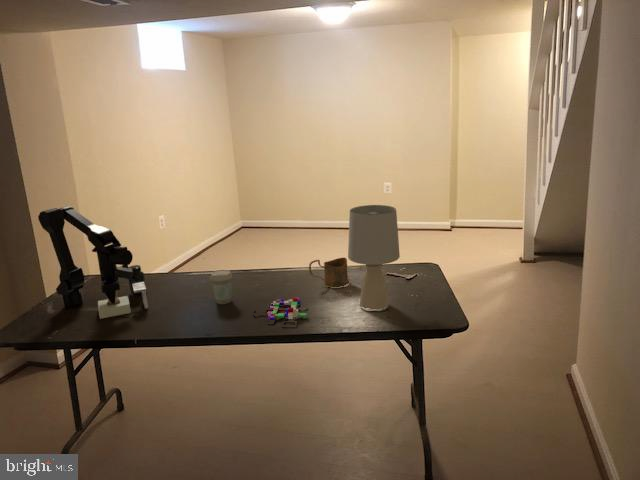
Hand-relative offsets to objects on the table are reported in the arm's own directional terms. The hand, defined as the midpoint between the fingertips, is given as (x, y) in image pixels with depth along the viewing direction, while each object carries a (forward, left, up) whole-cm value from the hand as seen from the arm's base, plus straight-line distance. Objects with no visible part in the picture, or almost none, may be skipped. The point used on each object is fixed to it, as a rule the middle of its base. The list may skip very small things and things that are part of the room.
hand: (113, 301), depth 197 cm
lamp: (+89, -46, -4) cm, 100 cm away
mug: (+84, -17, -4) cm, 86 cm away
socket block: (0, 0, -4) cm, 4 cm away
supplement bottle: (+10, +15, -4) cm, 19 cm away
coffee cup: (+40, -12, -4) cm, 42 cm away
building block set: (+56, -34, -5) cm, 66 cm away
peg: (0, 0, -2) cm, 2 cm away
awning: (+10, 0, -4) cm, 11 cm away
